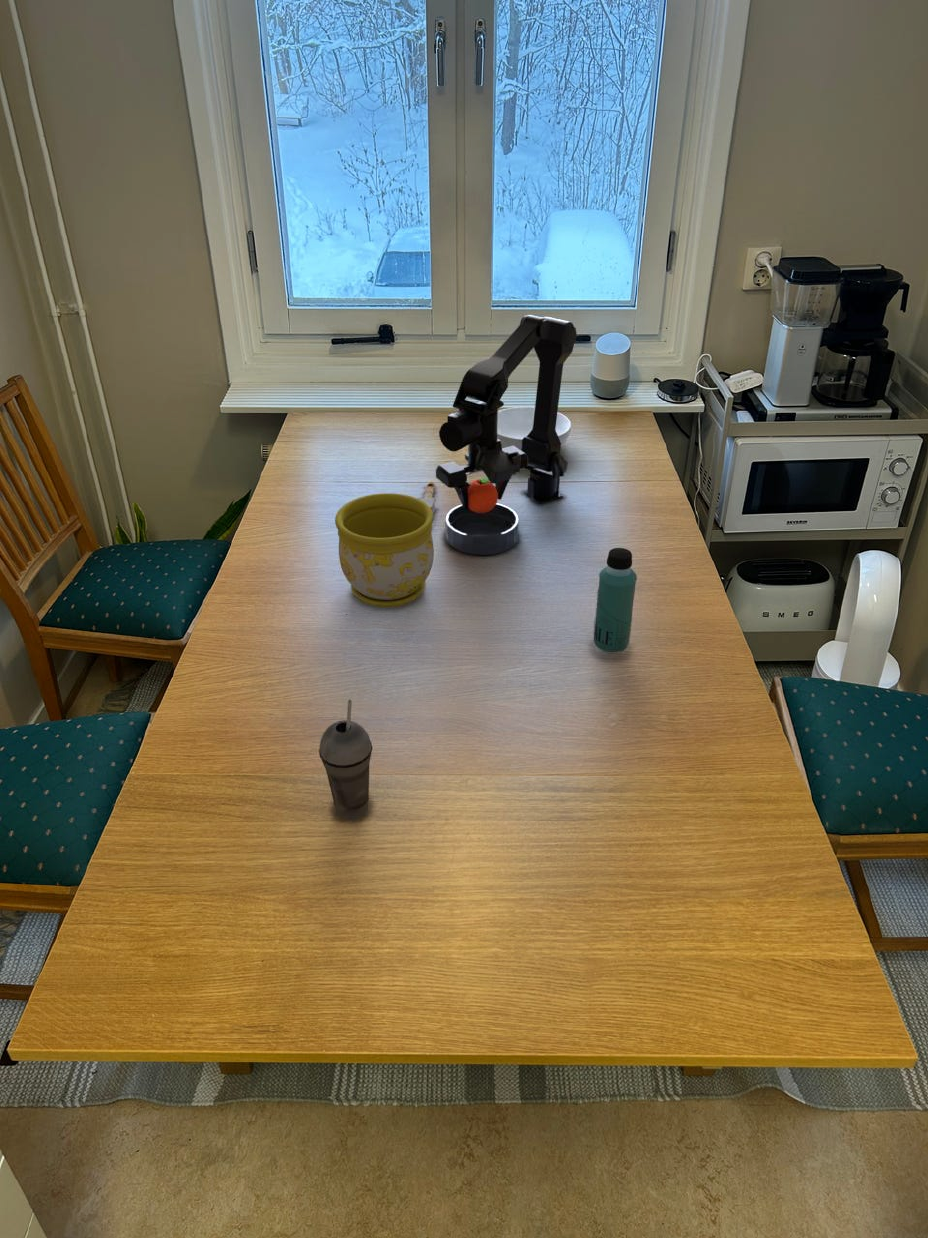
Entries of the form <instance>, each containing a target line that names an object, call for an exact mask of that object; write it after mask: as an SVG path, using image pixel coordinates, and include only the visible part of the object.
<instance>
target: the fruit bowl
mask: <svg viewBox="0 0 928 1238" xmlns="http://www.w3.org/2000/svg"><path fill="white" fill-rule="evenodd" d="M519 520H520V517H519V515H518V514H517V512H516V510H514V509H512V508H511V507H509V506H507V505H504V504H502V503H498V502H497V503H496V505H495V507H494V508H493V509H492V510H490V511H489V512H486V513H476V512H474V511H472V510H470V509H469V508H468V509H465V508H464V507H463V505H462V504H459V505H456V506H455V507H453V508H451V509H450V510H449V511H448V512H447V514H446V515H445V520H444V525H445V526H444V527H445V528H444V529H445V530H444V532H445V540H446V542H447V544H448V545H449V546H451V547H452V548H453V549H455V550H457V551H459V552H462V553H465V554H469V555H475V556H476V555H477V556H478V555H479V556H487V555H497V554H500V553H503V552H505V551H507V550H510V549H511V548H513V547H514V546H515V545H516V543H517V542H518V541H519V526H520V525H519V524H520V521H519Z"/></svg>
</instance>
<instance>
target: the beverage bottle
mask: <svg viewBox="0 0 928 1238" xmlns="http://www.w3.org/2000/svg"><path fill="white" fill-rule="evenodd" d="M606 565H607V566H605V567H603V568H602V569H601V570H600V572H599V575H598V577H599V579H598V585H597V586H598V587H597V588H598V589H597V590H596V591H597V592H596V594H597V596H596V608H595V619H594V620H593V624H594V625H593V627H594V629H593V633H592V634H593V642H594V645H595V646H596V648H597V649H599V650H601V651H603V652H606V653H610V654H611V653H614V654H615V653H620V652H623V651H625V650H626V649H627V648H628V646H629V644H630V639H631V637H632V636H631V635H632V632H631V631H632V623H633V616H634V615H633V611H634V600H635V593H636V583H637V579H638V576H637V574H636V572H635V571H634V569H632V566H633V553H632V551H631V550H629V549H627V548H624V547H614V548H611V549H610V550H609V551H608V554H607V558H606Z"/></svg>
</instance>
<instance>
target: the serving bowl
mask: <svg viewBox="0 0 928 1238" xmlns="http://www.w3.org/2000/svg"><path fill="white" fill-rule="evenodd" d="M534 411H535V406H515V407H508V408H504V409H500V410H498V423H497V438H498V439H499V440H501V444H502V445H501V447H502V448H506V447H510V446H513V445H514V446H515V447H517V448H518V449H520V450H521V449H522V439H523V438H524V437H527V435H528V434H529V433H530V432H531V430H532V428H533V420H534ZM571 429H572V421H570V419H569V418H568V417H567V416H566V415H564V414H562V413H561V412H557V420H556V429H555V430H556V433H557V435H558V437H559V440H560V442H561V447H562V446H563V445H564V444H565V443H566V441H567V440H568V438H569V436H570V434H571Z"/></svg>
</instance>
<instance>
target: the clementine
mask: <svg viewBox="0 0 928 1238" xmlns="http://www.w3.org/2000/svg"><path fill="white" fill-rule="evenodd" d="M469 484H471V485H470V487H469V488H468V508H469V509H470V510H472V511H474V512H476V513H486V512H489V511H490V510H492V509H493V508H494V507H495V505H496V503H498V501H499V499H498V492H497V490H496V487H495V484H493V483H491V482H490V481H489V479H488V477H485V478H479V479H475V480H473V481H471V482H469Z"/></svg>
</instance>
